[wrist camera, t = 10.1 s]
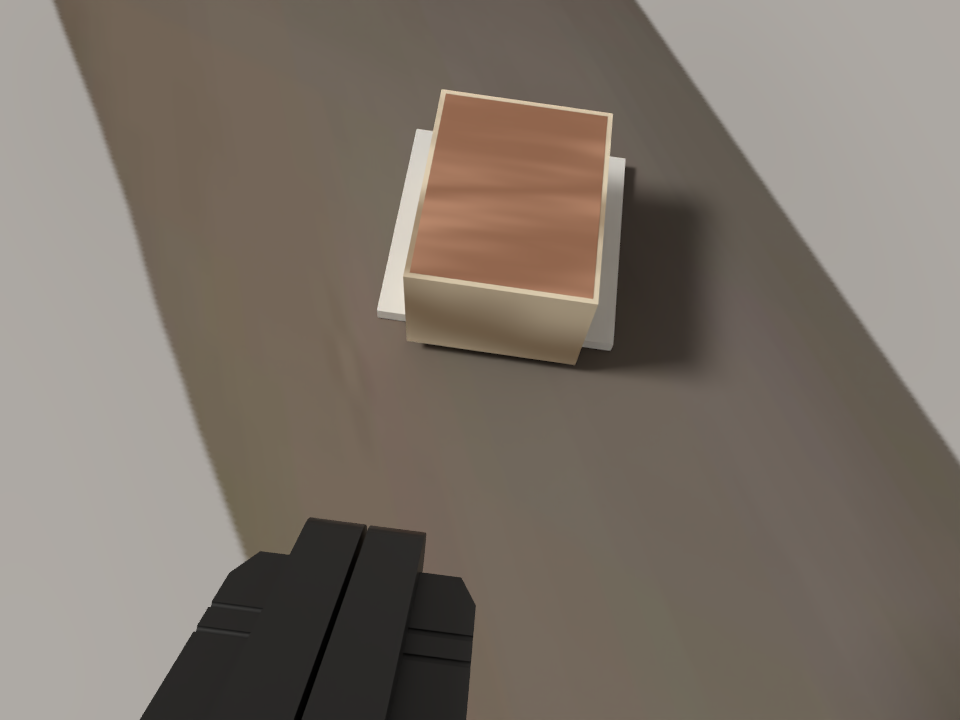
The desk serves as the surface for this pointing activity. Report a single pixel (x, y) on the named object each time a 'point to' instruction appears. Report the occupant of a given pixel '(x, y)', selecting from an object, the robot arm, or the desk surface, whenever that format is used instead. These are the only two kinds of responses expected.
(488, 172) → the maple block
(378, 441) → the desk surface
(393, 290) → the mat
